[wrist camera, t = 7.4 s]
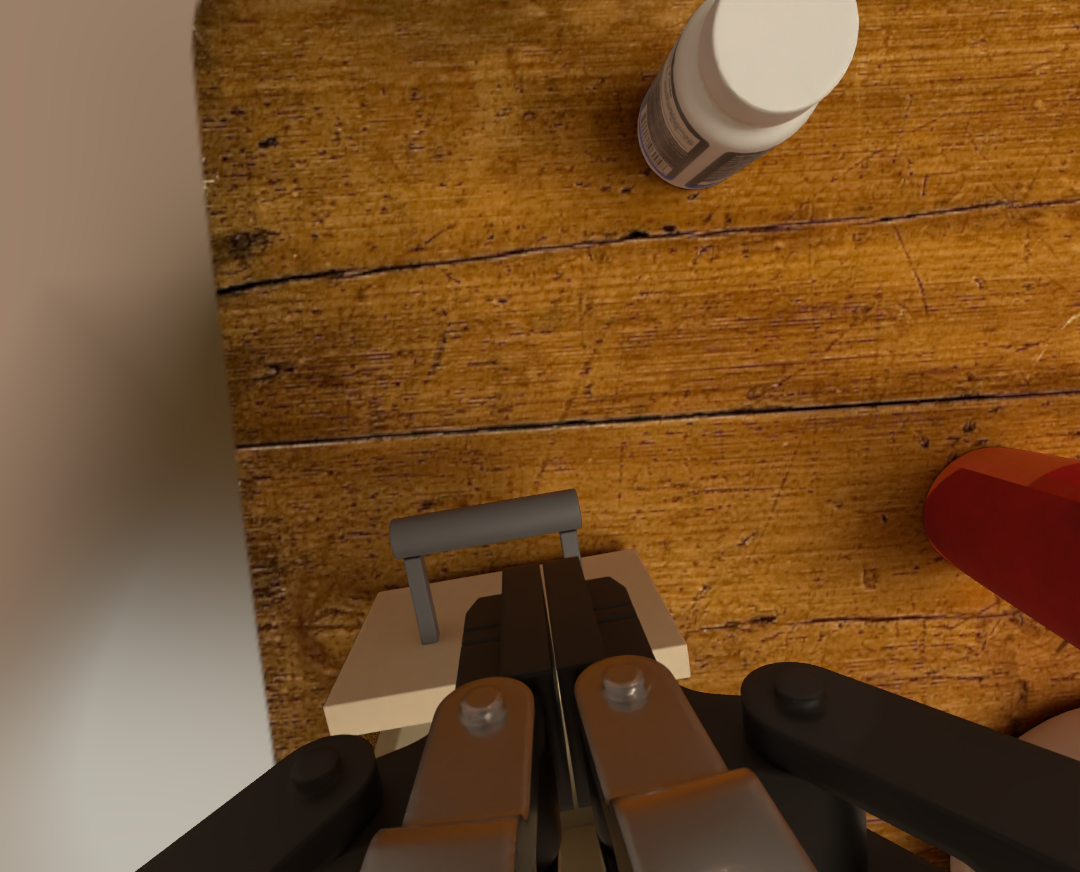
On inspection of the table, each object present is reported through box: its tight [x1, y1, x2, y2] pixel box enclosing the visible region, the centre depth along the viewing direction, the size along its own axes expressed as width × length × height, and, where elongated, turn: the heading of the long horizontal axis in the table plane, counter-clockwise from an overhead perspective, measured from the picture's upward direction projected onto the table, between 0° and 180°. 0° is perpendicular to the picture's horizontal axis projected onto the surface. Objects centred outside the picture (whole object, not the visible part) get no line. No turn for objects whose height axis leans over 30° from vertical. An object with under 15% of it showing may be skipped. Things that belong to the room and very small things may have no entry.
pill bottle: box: [638, 0, 859, 189], centre depth 20 cm, size 5×5×8 cm
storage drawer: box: [323, 489, 691, 872], centre depth 23 cm, size 18×12×8 cm, turn 9°
